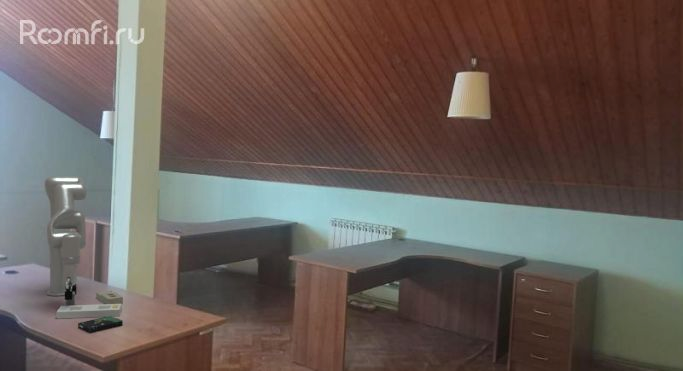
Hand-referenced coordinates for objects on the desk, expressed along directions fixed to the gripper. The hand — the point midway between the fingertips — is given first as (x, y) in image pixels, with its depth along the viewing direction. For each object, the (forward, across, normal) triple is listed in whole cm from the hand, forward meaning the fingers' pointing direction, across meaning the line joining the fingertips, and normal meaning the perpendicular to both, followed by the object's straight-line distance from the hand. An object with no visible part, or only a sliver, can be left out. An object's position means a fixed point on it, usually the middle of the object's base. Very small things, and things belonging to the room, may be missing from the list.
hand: (70, 297), depth 267 cm
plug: (+6, -1, 0) cm, 6 cm away
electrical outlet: (+6, -13, +15) cm, 21 cm away
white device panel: (+6, +9, +10) cm, 15 cm away
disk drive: (+7, +28, +17) cm, 34 cm away
